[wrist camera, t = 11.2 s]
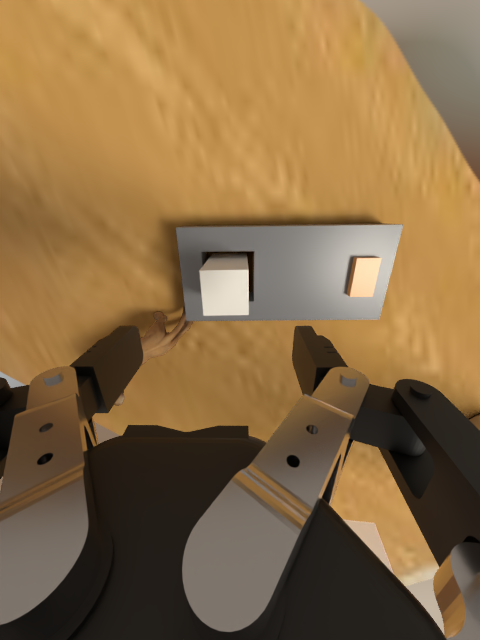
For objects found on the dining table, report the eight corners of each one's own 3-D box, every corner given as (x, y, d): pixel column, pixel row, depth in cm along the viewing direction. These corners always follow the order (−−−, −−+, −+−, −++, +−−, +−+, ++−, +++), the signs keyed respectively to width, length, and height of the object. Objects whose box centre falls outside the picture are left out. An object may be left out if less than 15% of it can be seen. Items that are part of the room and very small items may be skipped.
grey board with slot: (383, 223, 26) (408, 225, 22) (364, 308, 30) (383, 322, 26) (183, 226, 26) (173, 228, 22) (192, 309, 30) (185, 323, 26)
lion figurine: (137, 375, 35) (105, 426, 26) (106, 353, 33) (62, 399, 25) (205, 312, 30) (191, 349, 22) (173, 283, 29) (146, 311, 21)
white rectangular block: (246, 253, 27) (248, 269, 19) (246, 286, 29) (248, 315, 21) (212, 253, 27) (199, 270, 19) (214, 287, 29) (203, 315, 21)
